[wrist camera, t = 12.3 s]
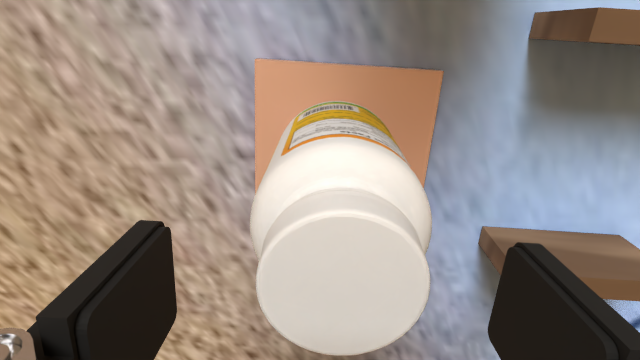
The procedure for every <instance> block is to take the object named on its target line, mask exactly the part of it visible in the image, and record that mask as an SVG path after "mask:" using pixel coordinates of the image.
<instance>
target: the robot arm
mask: <svg viewBox="0 0 640 360" xmlns="http://www.w3.org/2000/svg"><path fill="white" fill-rule="evenodd" d="M176 313H177V305H176V292H175V279H174V266H173V252H172V239H171V230H170V228H169V227H165V226H164V223H163V222H161V221H144V220H140V221H138V222H137V223H136V224H135V225H134V226H133V227H132V228H131V229H130V230H128V231H127V232H126V233H125V234H124V235H123V236H122V237H121V238H120V239H119V240H118V241H117V242H116V243H114V244H113V245H112V246H111V247H110V248H109V249H108V250H107V251H106V252H105V253H104V254H103V255H102V256H100V257H99V258H98V259H97V260H96V261H95V262H94V263H93V264H92V265H91V266H90V267H89V268H88V269H87V270H85V271H84V272H83V273H82V274H81V275H80V276H79V277H78V278H77V279H76V280H75V281H74V282H73V283H71V284H70V285H69V286H68V287H67V288H66V289H65V290H64V291H63V292H62V293H61V294H60V295H59V296H58V297H56V298H55V299H54V300H53V301H52V302H51V303H50V304H49V305H48V306H47V307H46V308H45V309H44V310H42V311H41V312H40V313H39V314H38V315H37V316H36V320H37V322H35V323H34V324H33V325H32V326H31V327H30V328H29V329H28V330H27V331H25V330H23V329H17V328H4V329H0V360H154V358H155V357H156V355H157V353H158V351H159V349H160V347H161V346H162V344H163V342H164V340H165V338H166V336H167V335H168V333H169V331H170V329H171V327H172V325H173V324H174V321H175V318H176ZM488 335H489V339H490V341H491V343H492V345H493V346H494V348H495V350H496V352H497V353H498V355H499V357H500V359H501V360H640V333H639V332H638V331H637V330H636V329H635V328H634V327H633V326H632V325H631V324H629V323H628V322H627V321H626V320H625V319H624V318H623V317H622V316H621V315H619V314H618V313H617V312H616V311H615V310H614V309H613V308H612V307H611V306H609V305H608V304H607V303H606V302H605V301H604V300H603V299H602V298H600V297H599V296H598V295H597V294H596V293H595V292H594V291H593V290H592V289H590V288H589V287H588V286H587V285H586V284H585V283H584V282H583V281H582V280H580V279H579V278H578V277H577V276H576V275H575V274H574V273H573V272H572V271H570V270H569V269H568V268H567V267H566V266H565V265H564V264H563V263H562V262H560V261H559V260H558V259H557V258H556V257H555V256H554V255H553V254H552V253H550V252H549V251H548V250H547V249H546V248H545V247H544V246H543V245H541V244H539V243H522V242H517V243H516V244H515V245H514V246H513V247H510V248H509V249H508V250H507V253H506V257H505V261H504V265H503V269H502V273H501V277H500V281H499V285H498V289H497V293H496V297H495V301H494V305H493V309H492V313H491V317H490V321H489V325H488Z"/></svg>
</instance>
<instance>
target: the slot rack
mask: <svg viewBox="0 0 640 360" xmlns="http://www.w3.org/2000/svg"><path fill="white" fill-rule="evenodd" d="M529 39H544V40H560V41H576V42H592V43H607V44H623V45H639V46H640V10H630V9H614V8H587V9H575V10H562V11H550V12H538V13H535V15H534V19H533V23H532V27H531V31H530V36H529ZM517 242H522V243H539V244H541V245H543V246H544V247H545V248H546V249H547V250H548V251H549V252H550V253H552V254H553V255H554V256H555V257H556V258H557V259H558V260H559V261H560V262H562V263H563V264H564V265H565V266H566V267H567V268H568V269H569V270H570V271H572V272H573V273H574V274H575V275H576V276H577V277H578V278H579V279H580V280H582V281H583V282H584V283H585V284H586V285H587V286H588V287H589V288H590V289H592V290H593V291H594V292H595V293H596V294H597V295H598V296H599V297H600V298H602V299H614V300H629V301H640V249H638V248H637V247H636V246H634V245H633V244H631V243H630V242H629V241H627V240H626V239H624V238H623V237H621V236H620V235H609V234H593V233H577V232H562V231H546V230H531V229H515V228H500V227H484V226H483V227H482V231H481V235H480V239H479V243H478V244H479V245H480V246H481V248H482V249H483V251H484V252H485V254H486V255H487V257H488V258H489V259H490V261H491V262H492V264H493V265H494V267H495V268H496V270H497V271H498V272H499V274H500V275H501V273H502V269H503V265H504V261H505V257H506V253H507V250H508V249H509V248H510V247H513V246H514V245H515V244H516V243H517Z"/></svg>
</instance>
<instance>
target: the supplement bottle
mask: <svg viewBox="0 0 640 360" xmlns="http://www.w3.org/2000/svg"><path fill="white" fill-rule="evenodd" d="M431 230H432V217H431V210H430V206H429V202H428V199H427V196H426V193H425V191H424V189H423V187H422V185H421V183H420V181H419V179H418V178H417V176H416V174H415V173H414V171H413V170H412V168H411V166H410V165H409V163H408V162H407V160H406V158H405V157H404V155H403V153H402V152H401V150H400V148H399V147H398V145H397V143H396V142H395V140H394V138H393V137H392V135H391V133H390V132H389V130H388V129H387V127H386V126H385V125H384V123H383V122H382V121H381V120H380V119H379V118H378V117H377V116H376V115H375V114H374V113H373V112H371V111H370V110H368V109H366V108H365V107H362V106H360V105H357V104H354V103H350V102H345V101H328V102H322V103H319V104H316V105H313V106H311V107H309V108H307V109H305V110H304V111H302V112H301V113H299V114H298V115H297V116H296V117H295V118H294V119H293V120H292V121H291V122H290V123H289V125H288V126H287V127H286V129H285V130H284V132H283V134H282V136H281V138H280V140H279V142H278V144H277V147H276V149H275V151H274V153H273V156H272V158H271V160H270V162H269V165H268V167H267V169H266V171H265V173H264V175H263V177H262V180H261V182H260V184H259V187H258V189H257V191H256V195H255V198H254V201H253V205H252V209H251V216H250V233H251V239H252V244H253V247H254V250H255V253H256V255H257V258H258V260H259V264H258V268H257V273H256V292H257V298H258V301H259V304H260V307H261V309H262V311H263V313H264V315H265V317H266V318H267V320H268V321H269V323H270V324H271V325H272V326H273V327H274V328H275V329H276V330H277V331H278V332H279V333H280V334H281V335H282V336H284V337H285V338H286V339H287V340H289V341H290V342H292V343H294V344H296V345H298V346H300V347H302V348H304V349H307V350H309V351H313V352H316V353H320V354H326V355H335V356H349V355H358V354H364V353H368V352H371V351H374V350H377V349H380V348H382V347H385V346H387V345H389V344H391V343H393V342H394V341H396V340H397V339H399V338H400V337H402V336H403V335H404V334H405V333H406V332H407V331H408V330H409V329H410V328H411V327H412V326H413V325H414V324H415V323H416V321H417V320H418V319H419V317H420V315H421V314H422V312H423V310H424V308H425V306H426V303H427V300H428V296H429V291H430V273H429V267H428V263H427V260H426V257H425V254H426V252H427V249H428V245H429V242H430V237H431Z"/></svg>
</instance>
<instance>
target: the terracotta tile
mask: <svg viewBox="0 0 640 360" xmlns="http://www.w3.org/2000/svg"><path fill="white" fill-rule="evenodd" d="M443 72H444V71H441V70H433V69H417V68H401V67H385V66H370V65H354V64H338V63H322V62H307V61H291V60H275V59H260V58H257V59H255V195H256V191H257V189H258V187H259V184H260V182H261V180H262V177H263V175H264V173H265V171H266V169H267V167H268V165H269V162H270V160H271V158H272V156H273V153H274V151H275V149H276V147H277V144H278V142H279V140H280V138H281V136H282V134H283V132H284V130H285V129H286V127H287V126H288V125H289V123H290V122H291V121H292V120H293V119H294V118H295V117H296V116H297V115H298V114H299V113H301V112H302V111H304V110H305V109H307V108H309V107H311V106H313V105H316V104H319V103H322V102H328V101H345V102H350V103H354V104H357V105H360V106H362V107H365V108H366V109H368V110H370V111H371V112H373V113H374V114H375V115H376V116H377V117H378V118H379V119H380V120H381V121H382V122H383V123H384V125H385V126H386V127H387V129H388V130H389V132H390V133H391V135H392V137H393V138H394V140H395V142H396V143H397V145H398V147H399V148H400V150H401V152H402V153H403V155H404V157H405V158H406V160H407V162H408V163H409V165H410V166H411V168H412V170H413V171H414V173H415V174H416V176H417V178H418V179H419V181H420V183H421V185H422V187H423V188H424V182H425V176H426V170H427V165H428V159H429V153H430V147H431V142H432V136H433V130H434V124H435V118H436V113H437V107H438V101H439V95H440V90H441V84H442V78H443Z"/></svg>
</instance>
